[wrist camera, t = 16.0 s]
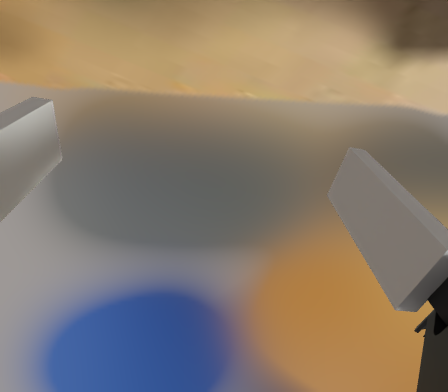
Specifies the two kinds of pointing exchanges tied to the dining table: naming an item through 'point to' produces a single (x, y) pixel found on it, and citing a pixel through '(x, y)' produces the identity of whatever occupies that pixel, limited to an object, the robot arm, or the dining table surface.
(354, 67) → the dining table surface
